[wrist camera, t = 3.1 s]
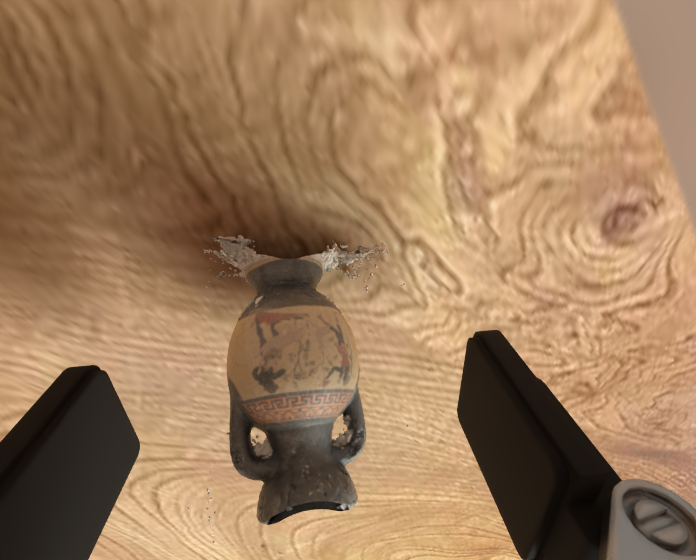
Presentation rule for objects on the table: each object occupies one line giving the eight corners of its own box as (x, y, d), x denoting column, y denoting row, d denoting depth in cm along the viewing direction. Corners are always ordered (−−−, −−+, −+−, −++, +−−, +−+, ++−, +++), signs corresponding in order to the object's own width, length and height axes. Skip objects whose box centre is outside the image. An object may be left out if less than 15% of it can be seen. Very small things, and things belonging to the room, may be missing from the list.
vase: (366, 372, 14) (400, 550, 8) (221, 368, 13) (159, 559, 8) (392, 243, 11) (462, 383, 6) (212, 228, 10) (112, 374, 5)
